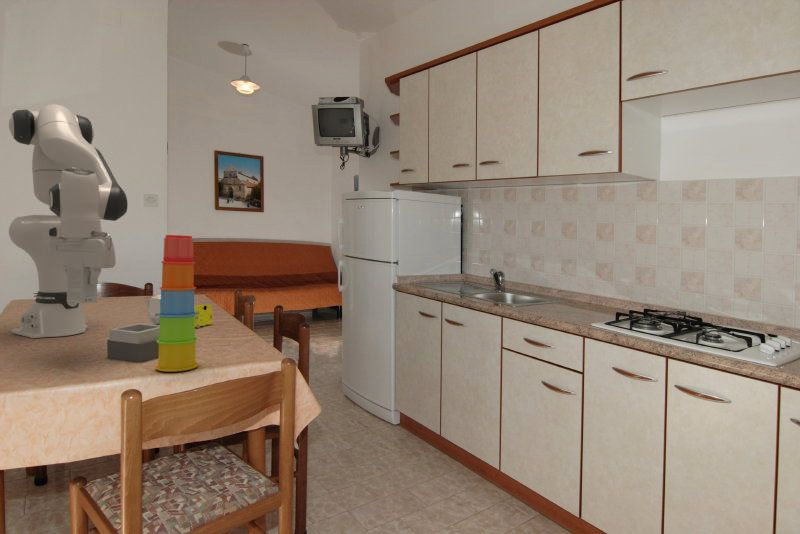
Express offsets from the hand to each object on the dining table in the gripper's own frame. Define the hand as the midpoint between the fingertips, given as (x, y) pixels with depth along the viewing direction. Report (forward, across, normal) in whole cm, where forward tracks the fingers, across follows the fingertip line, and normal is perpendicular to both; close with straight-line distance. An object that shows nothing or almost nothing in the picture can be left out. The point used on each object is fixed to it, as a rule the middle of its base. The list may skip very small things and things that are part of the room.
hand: (82, 283), depth 133 cm
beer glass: (+21, -3, -23) cm, 31 cm away
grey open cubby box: (+21, -7, -11) cm, 25 cm away
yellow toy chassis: (+22, +8, -47) cm, 52 cm away
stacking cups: (+21, -26, -6) cm, 34 cm away
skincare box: (+5, 0, 0) cm, 5 cm away
